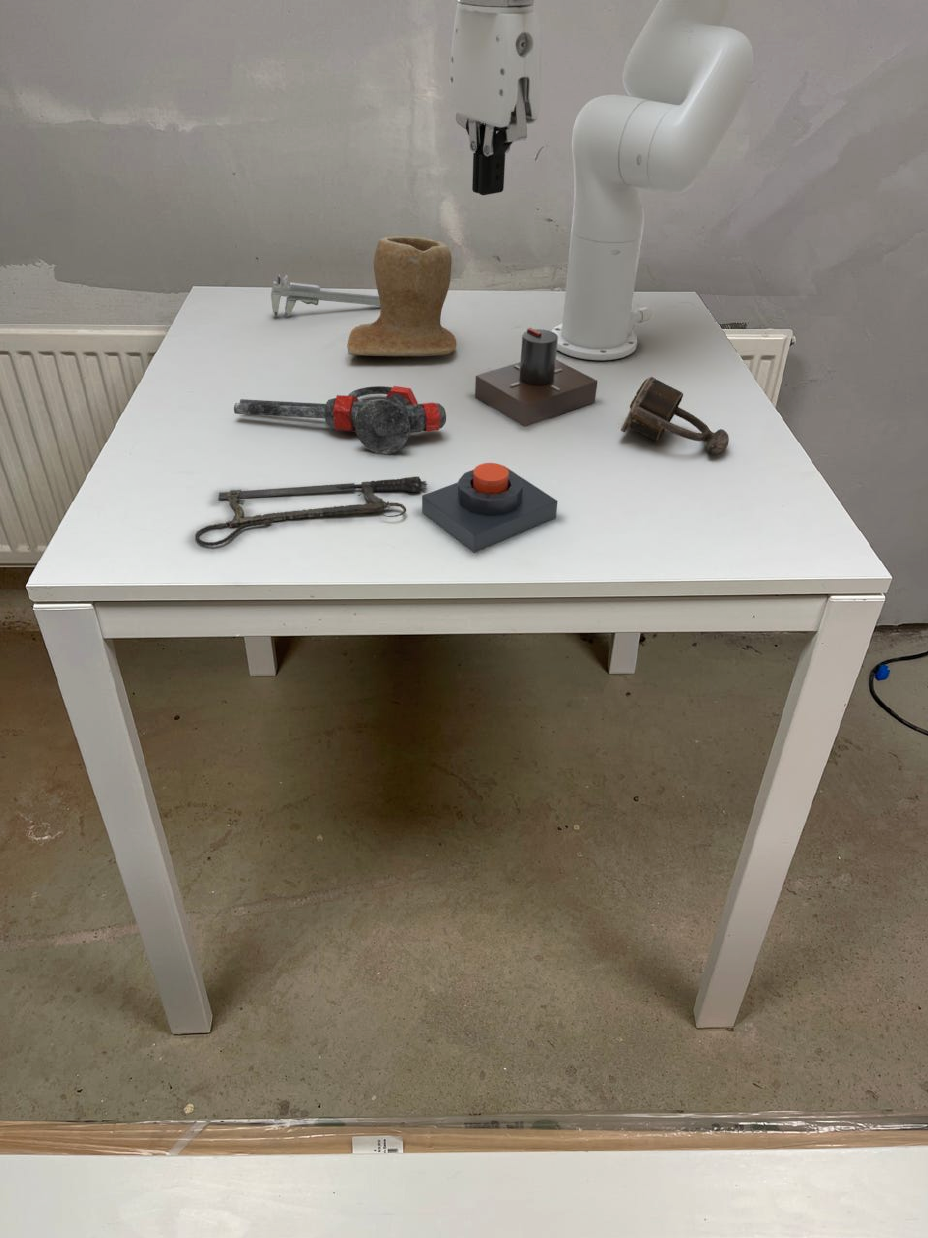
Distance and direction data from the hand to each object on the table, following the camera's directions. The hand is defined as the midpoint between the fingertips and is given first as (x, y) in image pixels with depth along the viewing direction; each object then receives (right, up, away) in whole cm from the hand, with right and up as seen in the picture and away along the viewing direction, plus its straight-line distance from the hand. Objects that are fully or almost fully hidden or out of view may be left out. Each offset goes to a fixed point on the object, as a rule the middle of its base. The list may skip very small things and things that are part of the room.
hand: (487, 191), depth 100 cm
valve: (-17, -23, +11) cm, 31 cm away
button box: (0, -37, -5) cm, 37 cm away
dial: (+7, -17, +14) cm, 23 cm away
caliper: (-22, 0, +38) cm, 44 cm away
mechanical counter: (+22, -26, +9) cm, 36 cm away
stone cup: (-11, -9, +28) cm, 32 cm away
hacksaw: (-18, -37, -6) cm, 41 cm away
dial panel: (+7, -19, +16) cm, 26 cm away
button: (0, -34, -7) cm, 35 cm away
